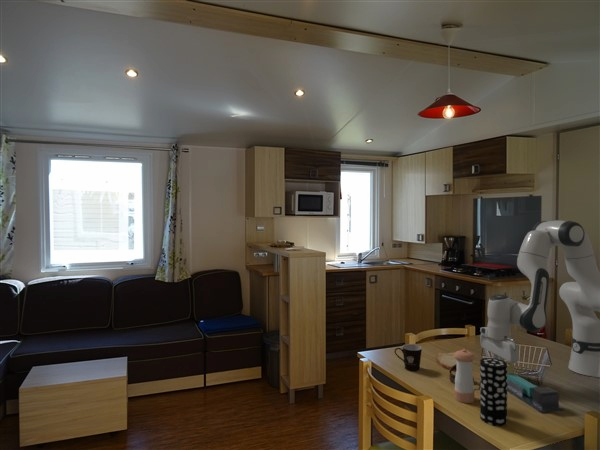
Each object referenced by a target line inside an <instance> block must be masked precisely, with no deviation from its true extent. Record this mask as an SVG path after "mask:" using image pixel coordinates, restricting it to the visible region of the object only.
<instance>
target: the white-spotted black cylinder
mask: <svg viewBox="0 0 600 450" xmlns="http://www.w3.org/2000/svg"><path fill="white" fill-rule="evenodd" d="M479 362H480V363H479V364H480V365H479V367H480V369H479V371H480V372H479V373H480V378H479V379H480V381H479V383H480V390H479V391H480V392H479V394H480V395H479V396H480V398H479V400H480V402H479V403H480V405H479V407H480V412H479V414H480V415H479V417H480V420H481V421H482V422H484V423H486V424H487V425H489V426H494V427H495V426H496V427H503V426H506V425H507V424H508V391H507V364H508V363H507V361H506V360H504V361H502V360H499V359H495V358H494V357H484V358H481V359H480V360H479Z"/></svg>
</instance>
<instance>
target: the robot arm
mask: <svg viewBox="0 0 600 450" xmlns="http://www.w3.org/2000/svg"><path fill="white" fill-rule="evenodd" d="M553 246H555V247H557V246H561V248H562V253H563V258H564V263H565V267H566V271H567V273H568V275H569V276H570V277H571V278H573V280H574V281H567V282H564V283H562V285H561V286H560V288H559V297H560V298H561V300H562V301H563V302H564V304H565V305H566V307H567V309H568V310H569V315H570V317H571V321H572V337H571V339H570V340H571V350H570V351H571V352H570V359H569V361H568V366H567V368H568V369H569V370H570V371H572V372H574V373H577V374H580V375H584V376H587V377H594V378H600V318H599V317H598V316H597V315H596V313H595V312H598V313H600V270H599V267H598V264H597V259H596V257H595V251H594V248H593V245H592V243H591V240H590V237H589V236H588V234H587V232H585V228H584V227H583V226H582V225H581V224H580V223H578V222H576V221H572V220H560V219H559V220H557V219H556V220H549V221H548V220H541V221H538V222H536V223H535V224H534V226H533V227H532V229H531V230H530V231H528V232H527V233H526V235H525V236H524V239H523V241H522V244H521V246H520V249H519V251H518V255H517V258H516V266H517V268H518V270H519V271H520V272H521V273H522V274H523V275H524V276H525V277H527V279H528V280H529V281H530V284H531V288H530V289H531V290H530V297H529V303H528V304H525V303H523V302H519V301H517V300H514V299H512V298H511V297H509V296H508V295H506V294H496V295H492V296H490V297H489V299H488V302H487V313H486V314H487V319H488V322H487V325H486V326H484V327H483V326H482V327H479V328H480V330H479V332H480V341H479V342H480V346H481V348H482V349H484V350H486V351H488V352H490V353H492V358H495V359H499V360H502V361H506V362H508V363H518V361H519V359H520V358H519V349H518V345H517V342H515V340H514V339H513V338H511V325H515V326H518V327H520V328H522V329H524V330H526V331H527V332H530V333H538V332H540V331H541V330H542V329H543V328H544V327H545V326H546V325H547V319H548V318H547V303H548V295H549V285H550V275H549V272H548V261H549V256H550V252H551V248H552V247H553Z"/></svg>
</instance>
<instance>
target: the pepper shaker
mask: <svg viewBox="0 0 600 450" xmlns="http://www.w3.org/2000/svg"><path fill="white" fill-rule="evenodd" d="M455 352H456V353H455V355H454V356H455V359H456V360H457V370H456V372H455V375H456V376H455V381H454V387H453V398H454V400H455V401H457V402H459V401H460V402H459V403H462V402H463V403H464V404H471V403H474V402H475V390H474V387H475V386H474V384H475V381H474V382H473V378H474V376H473V361H474V359H475V355H474V354H473V352H470V351H469V350H467V349H465V348H462V349H460V350H456V351H455ZM463 403H462V404H463Z"/></svg>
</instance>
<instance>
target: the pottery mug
mask: <svg viewBox="0 0 600 450" xmlns="http://www.w3.org/2000/svg"><path fill="white" fill-rule="evenodd" d="M453 369H455V371H456V370H457V363H456V364H455V365H454V366H452V367H451V368H450V370H448V371H449V376H448V377H449V381H450V382H455V376H456V374H453V373H452V372H453V371H452V370H453ZM473 382H474V383H475V378H474V377H473Z"/></svg>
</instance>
